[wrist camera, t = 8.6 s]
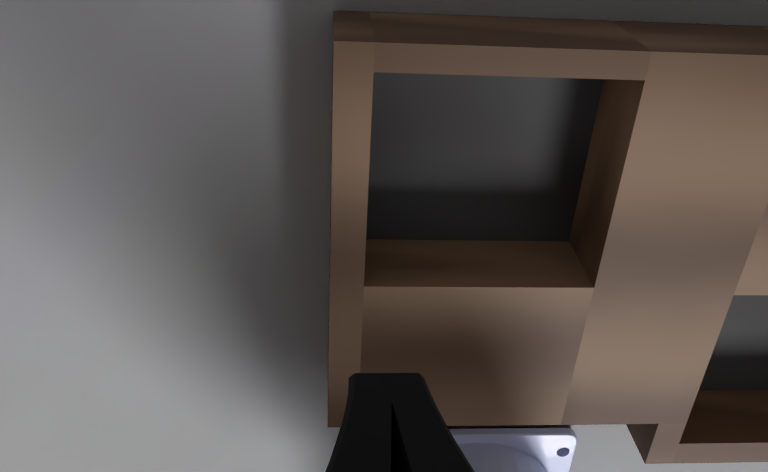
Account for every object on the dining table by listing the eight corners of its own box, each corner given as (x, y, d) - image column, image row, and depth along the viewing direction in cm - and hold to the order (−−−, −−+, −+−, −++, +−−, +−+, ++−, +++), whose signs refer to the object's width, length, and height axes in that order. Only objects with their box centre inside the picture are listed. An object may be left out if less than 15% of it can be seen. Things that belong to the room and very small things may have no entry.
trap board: (955, 401, 30) (1060, 502, 25) (327, 406, 28) (326, 517, 23) (1179, 41, 22) (1383, 98, 18) (333, 10, 20) (334, 66, 16)
